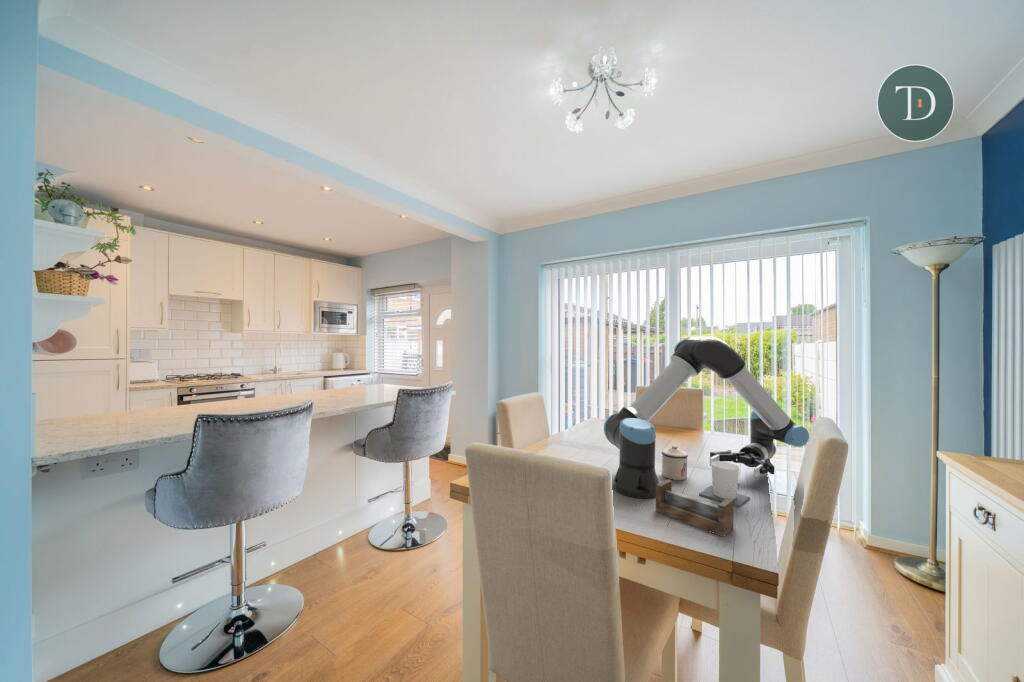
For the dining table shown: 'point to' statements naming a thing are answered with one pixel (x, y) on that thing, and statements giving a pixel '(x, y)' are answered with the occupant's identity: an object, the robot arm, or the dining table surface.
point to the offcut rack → (695, 509)
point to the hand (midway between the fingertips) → (731, 467)
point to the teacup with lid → (674, 463)
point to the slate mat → (737, 501)
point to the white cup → (725, 479)
